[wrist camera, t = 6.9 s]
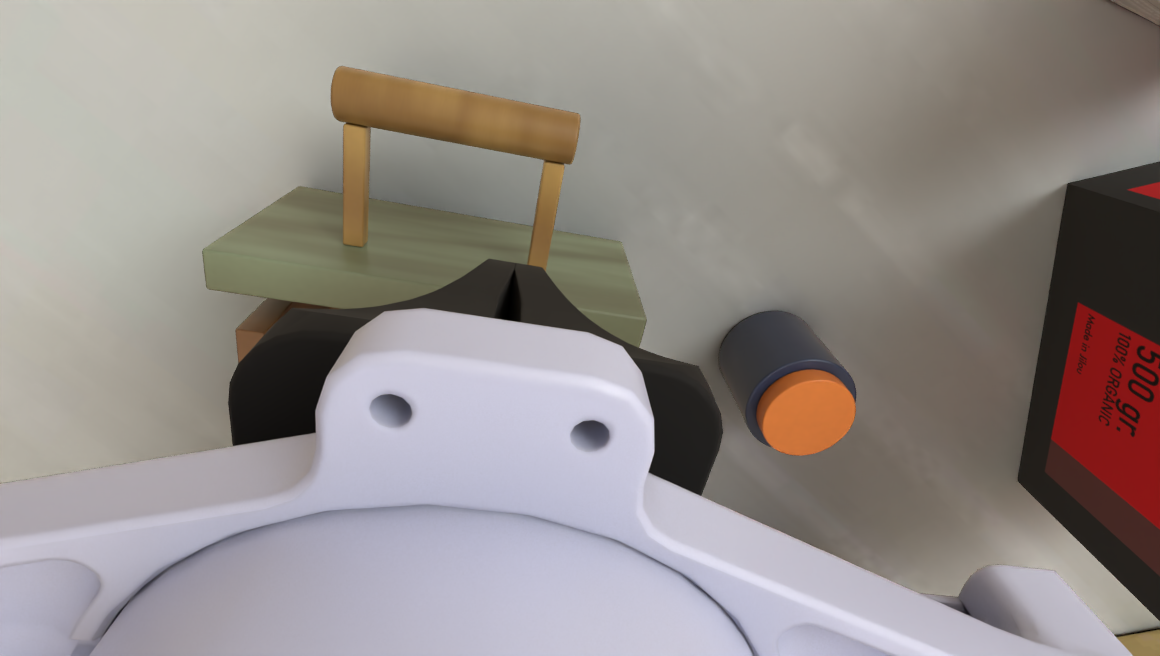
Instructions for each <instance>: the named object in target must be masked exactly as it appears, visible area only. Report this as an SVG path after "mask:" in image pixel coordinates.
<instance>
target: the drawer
mask: <svg viewBox="0 0 1160 656" xmlns="http://www.w3.org/2000/svg"><path fill="white" fill-rule="evenodd" d="M331 106H332V111H333V115H334V117H335V118H336V119H337V120H338V121H341V122H346V124H344V126H343V194H342V193H336V192H331V191H325V190H319V189H313V188H308V187H302V186H299V187H297V188H296V189H294V190H292V191H291V192H289V193H288V194H286V195H285V196H283V197H282V198H280V199H279V200H277V201H276V202H274V203H273V204H271V205H270V206H268V207H267V208H265V209H264V210H262V211H260V212H259V213H257V214H256V215H254V216H253V217H251V218H250V219H248V220H247V221H245V222H244V223H242V224H241V225H239V226H238V227H236V228H235V229H233V230H232V231H230V232H228V233H227V234H225V235H224V236H222V237H221V238H219V239H218V240H216V241H215V242H213V243H212V244H210V245H209V246H207V247H206V248H204V249H203V251H202V254H203V263H204V272H205V280H206V287H207V289H210V290H217V291H223V292H230V293H237V294H244V295H251V296H257V297H264V298H267V299H266V300H265V301H264V302H263V303H262V304H261V305H260V306H259V307H258V308H257V309H256V310H255V311H254V312H253V313H252V314H251V315H250V316H249V317H248V318H247V319H246V320H245V321H244V322H242V323H241V324H240V325H239V326H238V327H237V328H236V341H237V352H238V363H239V362H240V361H241V360H242V359H243V358H244V357H245V356H246V355H247V354H248V352H249V351H250V350H251V349H252V348H253V347H254V346H255V345H256V344H257V342H258V341H259V340H260V339H261V338H262V337H263V336H264V335H265V334H266V333H267V331H268V330H269V329H270V328H271V327H272V326H273V325H274V324H275V323H276V322H277V321H278V320H279V319H280V318H281V317H283V316H284V315H285V314H286V313H287V312H288V311H289V310H290V309H291V308H310V309H353V308H366V307H375V306H382V305H387V304H391V303H396V302H401V301H406V300H410V299H413V298H416V297H419V296H422V295H425V294H428V293H431V292H433V291H436V290H438V289H440V288H442V287H444V286H446V285H448V284H450V283H452V282H453V281H455V280H457V279H459V278H461V277H462V276H464V275H466V274H467V273H469V272H470V271H471V270H473V269H474V268H476V267H477V266H478V265H480V264H481V263H483V262H484V261H486V260H487V259H495V260H501V261H507V262H513V263H520V264H526V265H532V266H538V267H542V268H543V269H544V270H545V272H546V273H547V274H548V276H549V277H550V278H551V280H552V281H553V282H554V284H555V285H556V286H557V287H558V289H559V290H560V291H561V292H562V293H563V294H564V296H565V297H566V298H567V299H568V300H569V301H570V302H571V303H572V304H573V305H574V306H575V307H576V308H577V309H578V310H579V311H580V312H581V313H583V314H584V315H585V316H586V317H587V318H589V319H590V320H591V321H593V322H594V323H596V324H597V325H598V326H600V327H601V328H602V329H604V330H606V331H607V332H609V333H610V334H612V335H614V336H616V337H618V338H620V339H622V340H623V341H625V342H627V343H629V344H631V345H634V346H636V347H638V348H639V346H640V342H641V339H642V335H643V332H644V328H645V325H646V321H647V319H646V315H645V312H644V309H643V306H642V303H641V300H640V297H639V294H638V291H637V288H636V285H635V282H634V279H633V276H632V272H631V269H630V266H629V263H628V260H627V257H626V254H625V251H624V248H623V245H622V242H620V241H614V240H608V239H602V238H597V237H591V236H585V235H579V234H573V233H568V232H562V231H556V230H553V229H554V223H555V218H556V212H557V206H558V201H559V195H560V190H561V184H562V179H563V173H564V164H572V162H573V160H574V156H575V152H576V147H577V142H578V136H579V129H580V115H579V114H578V113H574V112H569V111H564V110H559V109H554V108H549V107H544V106H539V105H534V104H529V103H524V102H519V101H514V100H509V99H504V98H499V97H494V96H489V95H484V94H479V93H474V92H469V91H464V90H459V89H454V88H449V87H444V86H439V85H434V84H429V83H424V82H419V81H414V80H410V79H405V78H400V77H395V76H390V75H385V74H380V73H375V72H370V71H365V70H360V69H355V68H350V67H345V66H340V67H338V68H337V69H336V71H335V73H334V76H333V80H332V85H331ZM371 127H373V128H378V129H383V130H388V131H394V132H399V133H404V134H410V135H415V136H420V137H426V138H431V139H436V140H441V141H447V142H452V143H457V144H463V145H468V146H473V147H479V148H484V149H489V150H494V151H500V152H505V153H510V154H516V155H521V156H526V157H531V158H537V159H542V160H544V163H543V169H542V175H541V181H540V187H539V193H538V199H537V205H536V212H535V218H534V224H533V226H527V225H521V224H516V223H510V222H504V221H498V220H492V219H487V218H481V217H475V216H469V215H464V214H458V213H452V212H446V211H440V210H435V209H429V208H423V207H417V206H412V205H406V204H400V203H394V202H388V201H383V200H377V199H371V198H369V171H370V133H371Z"/></svg>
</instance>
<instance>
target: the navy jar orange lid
mask: <svg viewBox="0 0 1160 656" xmlns="http://www.w3.org/2000/svg"><path fill="white" fill-rule="evenodd" d="M719 367H720V370H721V373H722V375H723V377H724V379H725V381H726V384H727V386H728V388H729V390H730V392H731V394H732V396H733V398H734V400H735V402H736V404H737V406H738V408H739V410H740V412H741V414H742V416H743V418H744V420H745V422H746V425H747V427H748V428H749V430H750V432H751V433H752V435H753V436H754V437H755V438H756V439H757V440H759V441H760V442H762V443H763V444H765V445H767V446H770V447H773V448H774V449H776V450H778V451H780V452H782V453H785V454H789V455H798V456H799V455H810V454H814V453H817V452H820V451H823V450H825V449H827V448H829V447H831V446H832V445H834V444H835V443H837V442H838V441H839V440H840V439H842V438H843V436H844V435H845V434H846V433H847V432H848V430H849V429H850V427H851V426H852V423H853V421H854V418H855V413H856V406H855V402H856V388H855V384H854V381H853V379H852V377H851V376H850V374H849V373H848V372H847V371H846V369H845V368H844V367H843V366H842V365H841V364H840V362H839V361H838V360H837V359H836V358H835V356H834V355H833V354H832V353H831V352H830V351H829V349H828V348H827V347H826V346H825V345H824V344H823V342H822V341H821V340H820V339H819V338H818V336H817V335H816V334H815V333H814V332H813V331H812V329H811V328H810V327H809V326H808V325H807V324H806V323H805V322H804V321H803V320H802V319H801V318H799V317H797V316H796V315H793V314H791V313H787V312H782V311H768V312H762V313H758V314H755V315H753V316H750V317H748V318H746V319H745V320H743V321H741V322H740V323H739V324H737V325H736V326H735V327H734V328H733V329H732V330H731V331H730V332H729V334H728V335H727V336H726V338H725V340H724V341H723V344H722V346H721V349H720V353H719Z"/></svg>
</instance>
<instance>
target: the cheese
mask: <svg viewBox="0 0 1160 656" xmlns="http://www.w3.org/2000/svg"><path fill="white" fill-rule="evenodd" d="M1116 638H1117V639H1118V640H1119V641H1120V642H1121V643H1122V644H1123V645H1124V646H1125V647H1126V648H1127V650H1128V651H1129V652H1130V653H1131V654H1132V655H1133V656H1160V630H1154V631H1149V632H1143V633H1137V634H1131V635H1126V636H1120V637H1116Z"/></svg>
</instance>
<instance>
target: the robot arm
mask: <svg viewBox="0 0 1160 656" xmlns="http://www.w3.org/2000/svg"><path fill="white" fill-rule="evenodd" d="M228 405H229V414H230V423H231V433H232V442H233V446H230V447H224V448H218V449H211V450H205V451H199V452H193V453H187V454H180V455H174V456H168V457H162V458H155V459H149V460H143V461H137V462H130V463H124V464H118V465H112V466H105V467H99V468H93V469H87V470H81V471H74V472H68V473H62V474H56V475H49V476H43V477H37V478H31V479H24V480H18V481H12V482H6V483H0V656H1133V655H1132V654H1131V653H1130V652H1129V651H1128V650H1127V648H1126V647H1125V646H1124V645H1123V644H1122V643H1121V642H1120V641H1119V640H1118V639H1117V638H1116V637H1115V635H1114V634H1113V633H1112V632H1111V631H1110V630H1109V629H1108V628H1107V627H1106V626H1105V625H1104V623H1103V622H1102V621H1101V620H1100V619H1099V618H1098V617H1097V616H1096V615H1095V614H1094V613H1093V612H1092V610H1091V609H1090V608H1089V607H1088V606H1087V605H1086V604H1085V603H1084V602H1083V601H1082V600H1081V599H1080V597H1079V596H1078V595H1077V594H1076V593H1075V592H1074V591H1073V590H1072V589H1071V588H1070V587H1069V586H1068V584H1067V583H1066V582H1065V581H1064V580H1063V579H1062V578H1061V577H1060V576H1059V575H1058V574H1057V572H1056V571H1053V570H1046V569H1037V568H1027V567H1018V566H1008V565H999V564H997V565H987V566H985V567H983V568H980V569H978V570H977V571H975V572H974V573H973V574H972V575H971V576H970V577H969V578H968V580H967V581H966V582H965V584H964V586H963V588H962V590H961V592H960V594H959V596H958V597H953V596H942V595H932V594H922V593H917V592H915V591H912V590H910V589H908V588H906V587H904V586H901V585H899V584H897V583H895V582H892V581H890V580H888V579H886V578H883V577H881V576H879V575H877V574H874V573H872V572H870V571H868V570H865V569H863V568H861V567H859V566H856V565H854V564H852V563H850V562H848V561H845V560H843V559H841V558H839V557H836V556H834V555H832V554H830V553H827V552H825V551H823V550H821V549H818V548H816V547H814V546H812V545H809V544H807V543H805V542H803V541H801V540H798V539H796V538H794V537H792V536H789V535H787V534H785V533H783V532H780V531H778V530H776V529H774V528H771V527H769V526H767V525H765V524H762V523H760V522H758V521H756V520H753V519H751V518H749V517H747V516H745V515H742V514H740V513H738V512H736V511H733V510H731V509H729V508H727V507H724V506H722V505H720V504H718V503H715V502H713V501H711V500H709V499H706V498H704V497H702V496H701V495H702V493H703V490H704V487H705V485H706V482H707V480H708V477H709V474H710V472H711V469H712V467H713V464H714V461H715V459H716V456H717V454H718V451H719V447H720V443H721V438H722V434H723V429H722V420H721V413H720V411H719V408H718V406H717V404H716V402H715V399H714V396H713V394H712V392H711V389H710V387H709V385H708V383H707V381H706V379H705V377H704V375H703V374H702V372H701V370H700V368H699V366H695V365H692V364H688V363H684V362H680V361H676V360H673V359H669V358H665V357H662V356H659V355H656V354H654V353H651V352H648V351H646V350H643V349H640V348H638V347H636V346H634V345H631V344H629V343H627V342H625V341H623V340H622V339H620V338H618V337H616V336H614V335H612V334H610V333H609V332H607V331H606V330H604V329H602V328H601V327H600V326H598V325H597V324H596V323H594V322H593V321H591V320H590V319H589V318H587V317H586V316H585V315H584V314H583V313H581V312H580V311H579V310H578V309H577V308H576V307H575V306H574V305H573V304H572V303H571V302H570V301H569V300H568V299H567V298H566V297H565V296H564V294H563V293H562V292H561V291H560V290H559V289H558V287H557V286H556V285H555V284H554V282H553V281H552V280H551V278H550V277H549V276H548V274H547V273H546V272H545V270H544V269H543V268H542V267H538V266H532V265H526V264H520V263H513V262H507V261H501V260H495V259H487V260H486V261H484V262H483V263H481V264H480V265H478V266H477V267H476V268H474V269H473V270H471V271H470V272H469V273H467V274H466V275H464V276H462V277H461V278H459V279H457V280H455V281H453V282H452V283H450V284H448V285H446V286H444V287H442V288H440V289H438V290H436V291H433V292H431V293H428V294H425V295H422V296H419V297H416V298H413V299H410V300H406V301H401V302H396V303H391V304H387V305H382V306H375V307H366V308H353V309H310V308H291V309H290V310H289V311H288V312H287V313H286V314H285V315H284V316H283V317H281V318H280V319H279V320H278V321H277V322H276V323H275V324H274V325H273V326H272V327H271V328H270V329H269V330H268V331H267V333H266V334H265V335H264V336H263V337H262V338H261V339H260V340H259V341H258V342H257V344H256V345H255V346H254V347H253V348H252V349H251V350H250V351H249V352H248V354H247V355H246V356H245V357H244V358H243V359H242V360H241V361H240V362H239V363H238V366H237V368H236V370H235V372H234V374H233V377H232V379H231V381H230V386H229V401H228Z"/></svg>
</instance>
